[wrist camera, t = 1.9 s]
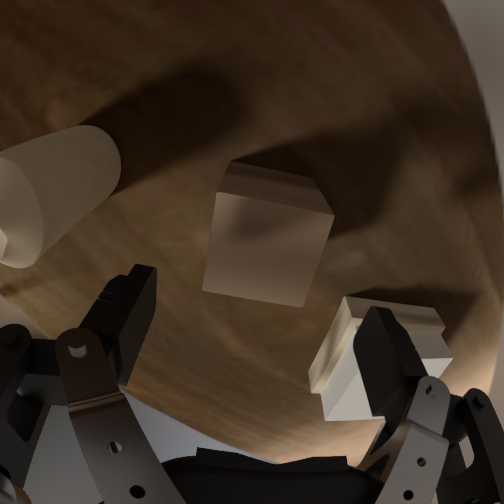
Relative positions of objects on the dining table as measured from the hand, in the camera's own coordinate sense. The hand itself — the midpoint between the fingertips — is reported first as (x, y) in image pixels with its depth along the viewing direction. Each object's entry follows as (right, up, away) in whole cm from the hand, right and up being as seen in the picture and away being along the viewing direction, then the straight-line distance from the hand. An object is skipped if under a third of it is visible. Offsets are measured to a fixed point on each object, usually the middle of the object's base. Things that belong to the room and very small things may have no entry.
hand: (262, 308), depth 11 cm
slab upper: (+10, -7, +11) cm, 17 cm away
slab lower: (+10, -6, +14) cm, 18 cm away
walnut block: (0, +5, +8) cm, 9 cm away
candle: (-11, +8, +7) cm, 15 cm away
